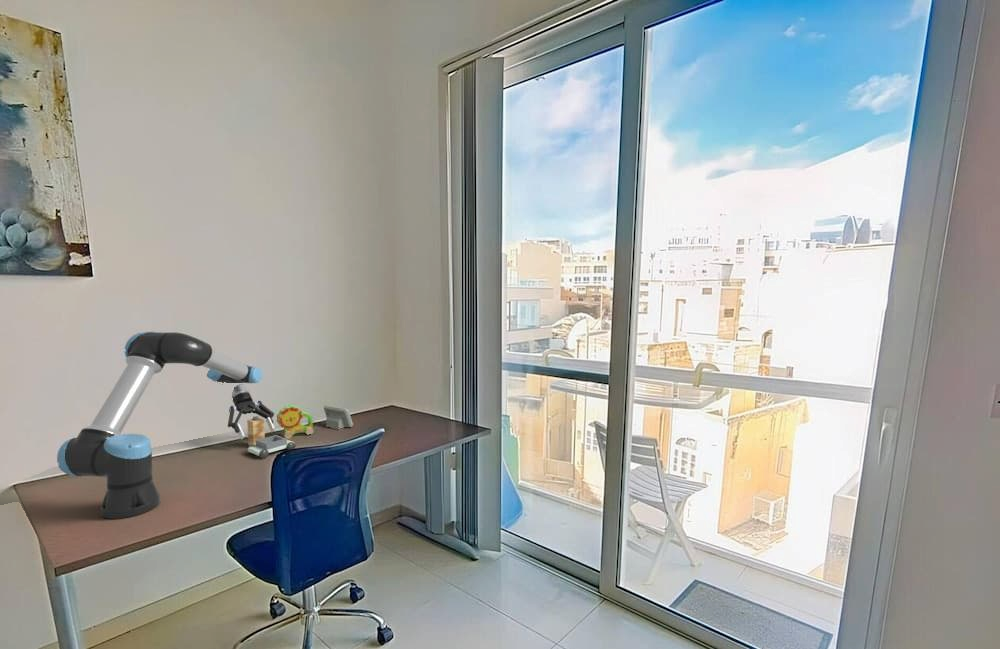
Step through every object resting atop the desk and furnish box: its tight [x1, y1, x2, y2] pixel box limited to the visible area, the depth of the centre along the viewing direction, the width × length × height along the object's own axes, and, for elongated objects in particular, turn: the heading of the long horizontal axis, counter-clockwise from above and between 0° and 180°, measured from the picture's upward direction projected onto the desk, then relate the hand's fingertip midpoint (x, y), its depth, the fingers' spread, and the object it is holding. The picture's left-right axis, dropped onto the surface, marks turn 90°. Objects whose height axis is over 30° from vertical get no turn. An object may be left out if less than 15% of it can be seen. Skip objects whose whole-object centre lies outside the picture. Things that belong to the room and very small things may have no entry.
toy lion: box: [276, 405, 314, 440], centre depth 227 cm, size 16×5×15 cm, turn 128°
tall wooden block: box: [247, 415, 266, 447], centre depth 213 cm, size 5×5×13 cm
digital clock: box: [323, 405, 354, 430], centre depth 243 cm, size 16×9×11 cm, turn 52°
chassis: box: [246, 434, 296, 459], centre depth 206 cm, size 16×11×6 cm
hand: (258, 433), depth 213 cm, fingers open, 13 cm apart
